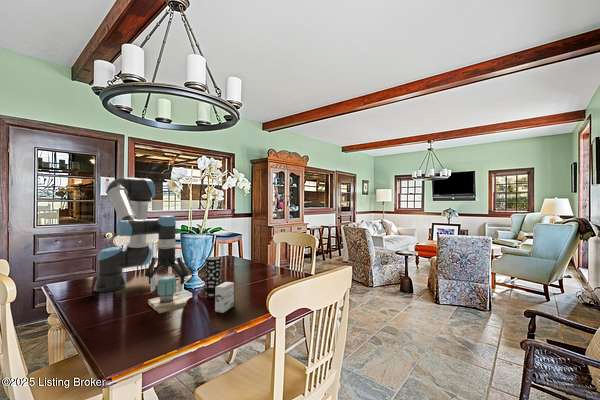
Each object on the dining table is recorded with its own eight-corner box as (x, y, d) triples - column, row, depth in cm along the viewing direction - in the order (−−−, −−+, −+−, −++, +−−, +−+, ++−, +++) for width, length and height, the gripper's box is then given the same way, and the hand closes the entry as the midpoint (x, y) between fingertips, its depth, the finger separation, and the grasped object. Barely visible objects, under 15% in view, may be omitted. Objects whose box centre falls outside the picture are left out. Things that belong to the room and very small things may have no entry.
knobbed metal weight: (157, 300, 135) (157, 287, 135) (170, 297, 139) (170, 285, 139) (162, 304, 131) (162, 290, 131) (175, 301, 135) (175, 287, 135)
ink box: (226, 305, 136) (226, 280, 136) (234, 306, 134) (234, 282, 134) (214, 311, 128) (214, 285, 128) (223, 313, 126) (223, 287, 126)
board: (147, 303, 136) (147, 299, 136) (172, 297, 145) (173, 294, 145) (159, 313, 125) (159, 308, 125) (185, 306, 133) (185, 302, 133)
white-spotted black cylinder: (202, 295, 149) (202, 258, 149) (216, 291, 155) (216, 256, 155) (210, 299, 143) (210, 260, 143) (224, 295, 149) (224, 258, 149)
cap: (154, 295, 131) (154, 280, 131) (163, 290, 139) (163, 276, 139) (170, 295, 131) (170, 280, 131) (178, 290, 138) (178, 276, 138)
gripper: (136, 248, 131) (136, 293, 131) (189, 248, 131) (188, 293, 131) (145, 245, 139) (145, 288, 139) (195, 246, 139) (195, 288, 139)
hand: (166, 290), depth 135 cm, fingers open, 13 cm apart
